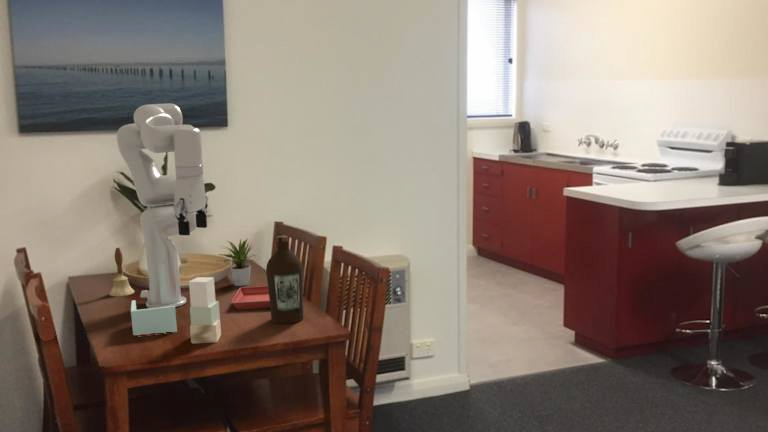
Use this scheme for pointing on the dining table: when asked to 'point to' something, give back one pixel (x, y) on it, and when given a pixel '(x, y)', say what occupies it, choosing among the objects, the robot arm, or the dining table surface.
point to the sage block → (205, 314)
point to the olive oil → (285, 284)
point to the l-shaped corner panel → (153, 320)
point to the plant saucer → (252, 298)
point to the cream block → (202, 292)
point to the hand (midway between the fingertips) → (193, 231)
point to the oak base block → (205, 333)
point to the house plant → (239, 263)
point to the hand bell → (120, 278)
